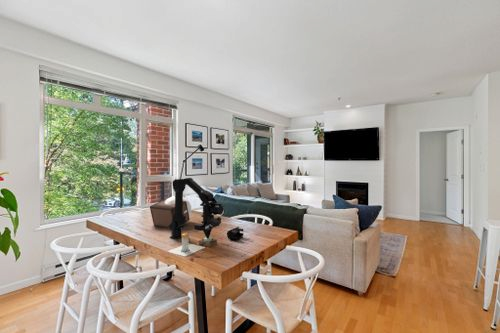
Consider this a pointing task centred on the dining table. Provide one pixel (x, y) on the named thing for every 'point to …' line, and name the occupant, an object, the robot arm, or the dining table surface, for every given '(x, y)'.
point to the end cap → (235, 234)
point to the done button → (208, 239)
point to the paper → (191, 250)
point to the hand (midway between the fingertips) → (207, 238)
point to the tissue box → (168, 211)
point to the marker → (185, 242)
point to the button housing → (208, 244)
